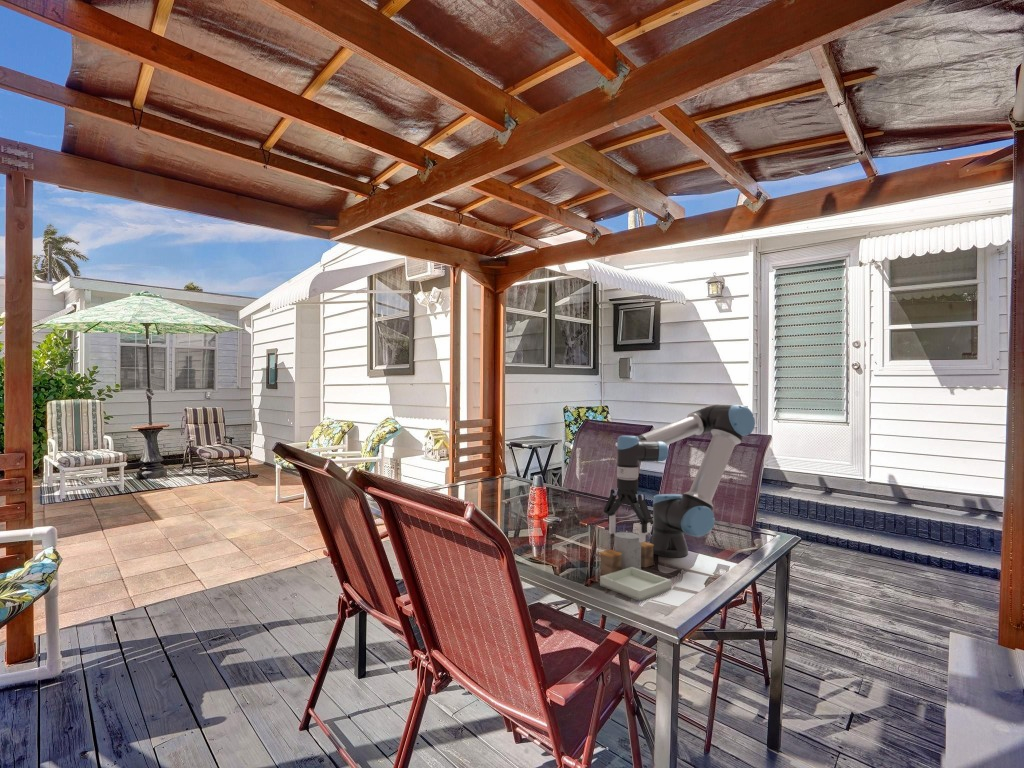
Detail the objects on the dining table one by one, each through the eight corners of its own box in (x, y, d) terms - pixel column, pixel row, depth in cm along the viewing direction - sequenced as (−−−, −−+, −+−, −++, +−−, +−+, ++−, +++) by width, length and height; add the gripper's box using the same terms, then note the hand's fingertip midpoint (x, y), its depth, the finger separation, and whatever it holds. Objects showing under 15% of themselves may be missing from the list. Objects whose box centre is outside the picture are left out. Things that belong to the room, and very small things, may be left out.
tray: (631, 575, 174) (631, 566, 174) (671, 589, 161) (671, 580, 161) (600, 585, 164) (600, 576, 164) (639, 601, 151) (639, 591, 151)
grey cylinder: (637, 565, 185) (637, 531, 185) (644, 573, 175) (644, 538, 176) (611, 565, 185) (611, 531, 185) (617, 574, 175) (617, 538, 175)
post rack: (642, 561, 189) (642, 541, 189) (653, 565, 185) (653, 544, 185) (600, 573, 175) (600, 552, 175) (611, 578, 171) (611, 555, 171)
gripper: (594, 474, 189) (594, 531, 188) (649, 484, 169) (648, 547, 168) (608, 473, 193) (607, 528, 192) (662, 482, 173) (662, 544, 173)
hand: (626, 537), depth 180 cm, fingers open, 13 cm apart
